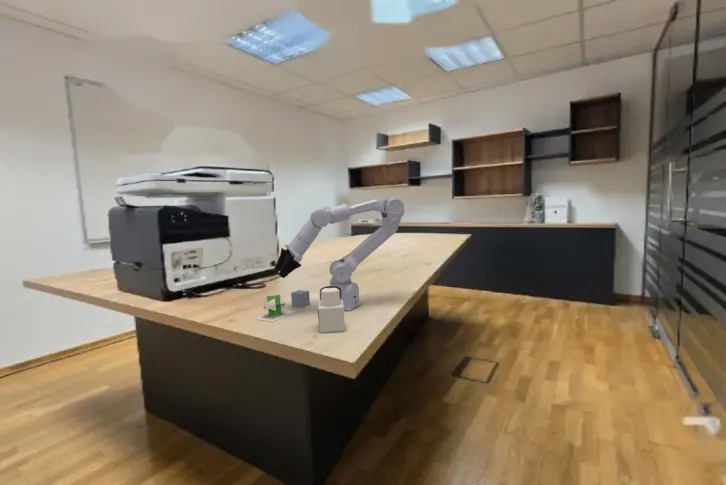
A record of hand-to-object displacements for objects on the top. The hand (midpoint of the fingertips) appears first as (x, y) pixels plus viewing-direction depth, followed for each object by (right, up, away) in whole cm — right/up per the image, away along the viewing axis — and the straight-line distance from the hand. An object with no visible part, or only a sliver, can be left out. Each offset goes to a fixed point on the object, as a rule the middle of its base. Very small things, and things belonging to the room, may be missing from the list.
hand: (279, 273), depth 122 cm
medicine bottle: (+19, -15, -16) cm, 29 cm away
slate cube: (+6, -12, +9) cm, 16 cm away
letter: (-1, -14, -2) cm, 14 cm away
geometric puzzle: (-1, -14, -2) cm, 14 cm away
